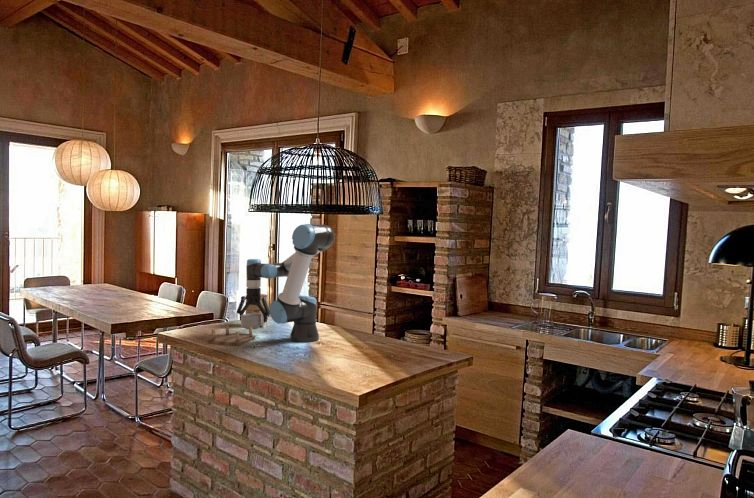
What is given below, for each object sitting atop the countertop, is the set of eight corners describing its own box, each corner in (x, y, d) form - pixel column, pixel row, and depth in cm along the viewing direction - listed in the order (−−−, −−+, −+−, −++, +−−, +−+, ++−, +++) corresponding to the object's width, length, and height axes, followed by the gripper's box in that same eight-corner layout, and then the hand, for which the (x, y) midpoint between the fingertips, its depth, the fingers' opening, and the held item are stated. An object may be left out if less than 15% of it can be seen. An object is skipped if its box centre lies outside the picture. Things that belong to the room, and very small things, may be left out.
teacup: (240, 330, 293) (240, 315, 293) (242, 327, 304) (242, 312, 303) (267, 330, 295) (267, 315, 294) (268, 326, 305) (268, 312, 305)
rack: (255, 339, 289) (255, 326, 289) (238, 346, 273) (238, 333, 272) (226, 336, 294) (226, 324, 293) (208, 343, 277) (208, 330, 277)
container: (271, 325, 327) (272, 295, 326) (256, 328, 316) (256, 297, 315) (255, 322, 333) (256, 293, 332) (240, 325, 323) (241, 295, 322)
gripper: (277, 287, 299) (276, 327, 300) (237, 285, 305) (236, 324, 306) (270, 289, 292) (270, 329, 293) (229, 287, 298) (229, 327, 299)
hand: (253, 327), depth 299 cm, fingers closed on teacup, 12 cm apart
